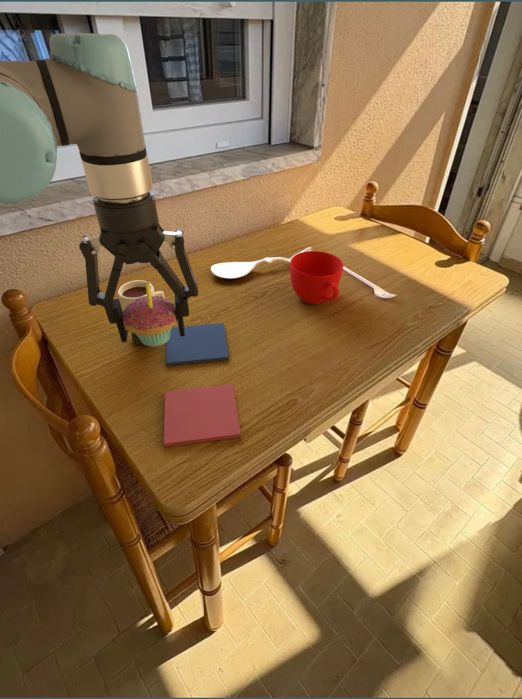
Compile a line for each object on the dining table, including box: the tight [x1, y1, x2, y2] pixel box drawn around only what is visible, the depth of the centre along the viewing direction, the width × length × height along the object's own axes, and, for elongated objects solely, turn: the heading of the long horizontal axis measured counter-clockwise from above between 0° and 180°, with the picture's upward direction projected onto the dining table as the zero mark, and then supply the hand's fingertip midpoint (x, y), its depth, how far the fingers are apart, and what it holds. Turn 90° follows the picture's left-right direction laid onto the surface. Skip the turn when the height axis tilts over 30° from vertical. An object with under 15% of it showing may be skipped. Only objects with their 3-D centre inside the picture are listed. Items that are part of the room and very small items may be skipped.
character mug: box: [117, 279, 166, 346], centre depth 82 cm, size 11×7×13 cm, turn 115°
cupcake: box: [122, 279, 178, 348], centre depth 59 cm, size 9×8×12 cm
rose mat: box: [163, 383, 242, 448], centre depth 69 cm, size 13×12×1 cm
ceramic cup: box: [289, 250, 344, 305], centre depth 95 cm, size 13×17×10 cm
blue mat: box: [165, 322, 230, 367], centre depth 84 cm, size 13×12×1 cm
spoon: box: [210, 246, 314, 280], centre depth 109 cm, size 9×32×4 cm, turn 108°
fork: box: [343, 266, 397, 299], centre depth 104 cm, size 3×20×2 cm, turn 32°
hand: (154, 333), depth 63 cm, fingers closed on cupcake, 8 cm apart
